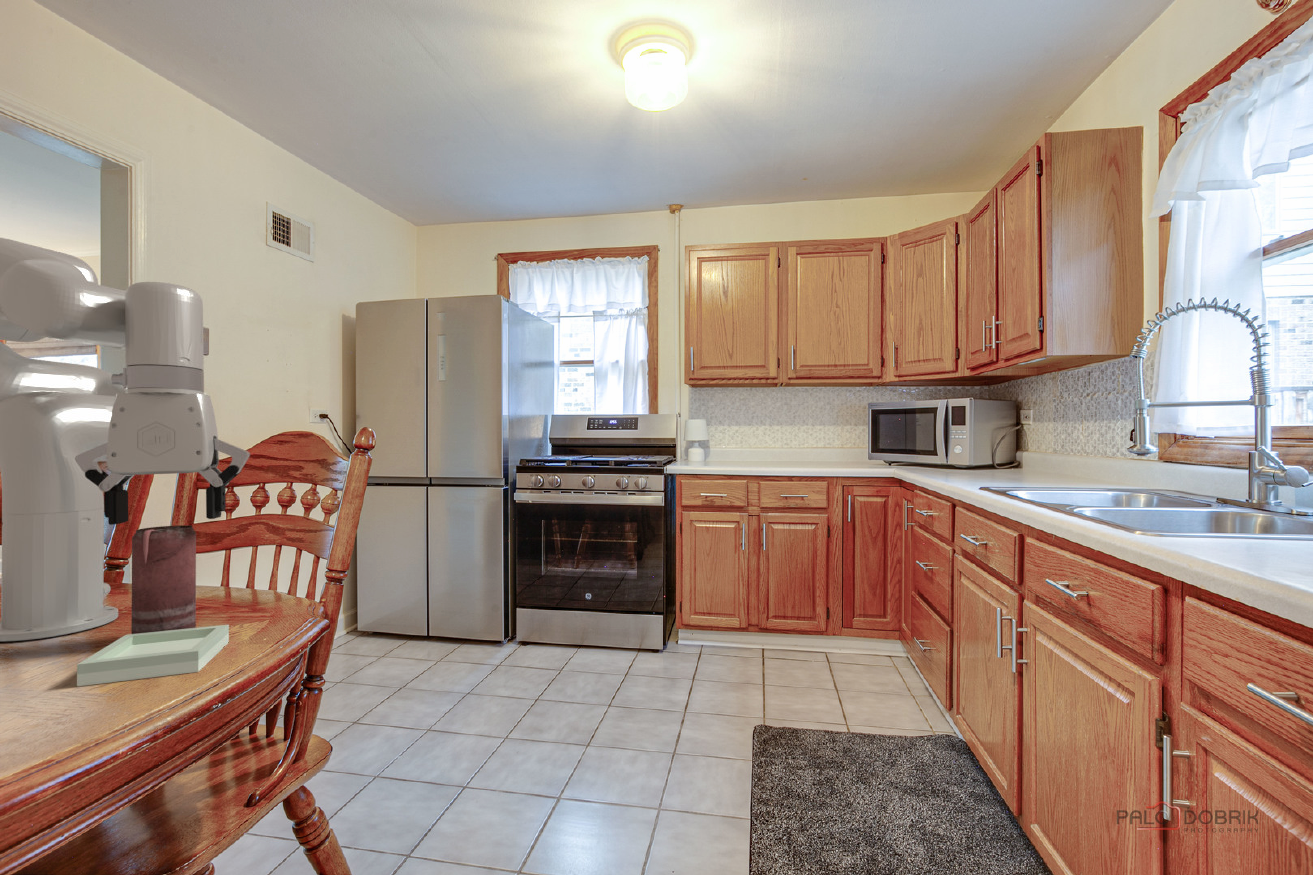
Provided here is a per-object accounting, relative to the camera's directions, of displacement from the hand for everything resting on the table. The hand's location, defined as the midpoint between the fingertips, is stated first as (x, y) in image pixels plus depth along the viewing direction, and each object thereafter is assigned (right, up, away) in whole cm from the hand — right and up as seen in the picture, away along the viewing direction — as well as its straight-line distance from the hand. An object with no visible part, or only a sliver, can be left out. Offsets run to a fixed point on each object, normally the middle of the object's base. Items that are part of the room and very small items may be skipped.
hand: (167, 520), depth 73 cm
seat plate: (+6, -15, -8) cm, 18 cm away
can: (0, -15, 0) cm, 15 cm away
